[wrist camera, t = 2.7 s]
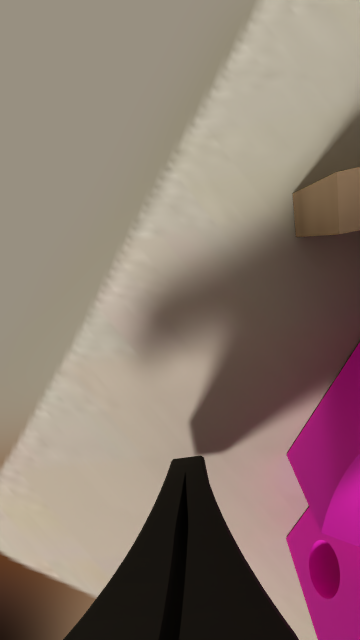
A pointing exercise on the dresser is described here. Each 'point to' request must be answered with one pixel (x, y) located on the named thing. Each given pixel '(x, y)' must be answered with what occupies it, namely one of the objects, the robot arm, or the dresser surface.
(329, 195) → the pair of brown pieces
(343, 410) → the toy block
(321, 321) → the dresser surface
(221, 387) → the dresser surface
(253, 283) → the dresser surface
